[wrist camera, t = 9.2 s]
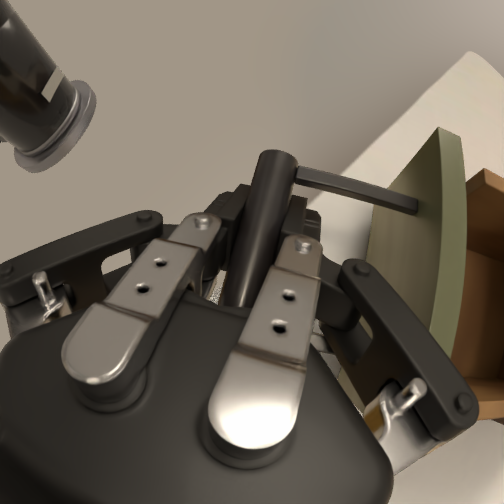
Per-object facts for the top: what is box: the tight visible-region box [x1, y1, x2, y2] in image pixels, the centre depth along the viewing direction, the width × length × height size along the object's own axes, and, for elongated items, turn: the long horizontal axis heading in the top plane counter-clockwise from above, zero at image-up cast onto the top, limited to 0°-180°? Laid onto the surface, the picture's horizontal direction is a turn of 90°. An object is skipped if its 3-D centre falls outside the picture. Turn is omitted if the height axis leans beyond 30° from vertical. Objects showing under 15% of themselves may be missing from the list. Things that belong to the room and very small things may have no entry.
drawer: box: [218, 127, 504, 420], centre depth 11 cm, size 20×12×9 cm, turn 75°
